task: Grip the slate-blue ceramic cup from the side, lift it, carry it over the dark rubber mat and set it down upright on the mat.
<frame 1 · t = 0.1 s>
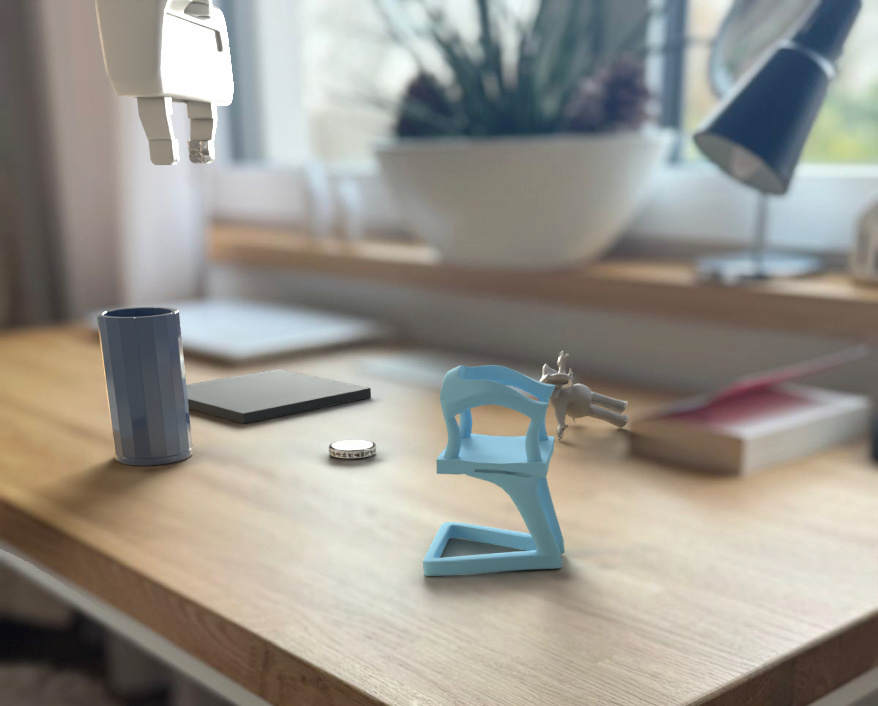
hand: (185, 164, 87), 23 cm above the table, tool pointing down, fingers open, 8 cm apart
chair: (497, 560, 68), on the table
grey figurine: (575, 430, 100), on the table
mat: (263, 398, 113), on the table
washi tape: (352, 454, 92), on the table
cup: (154, 455, 92), on the table
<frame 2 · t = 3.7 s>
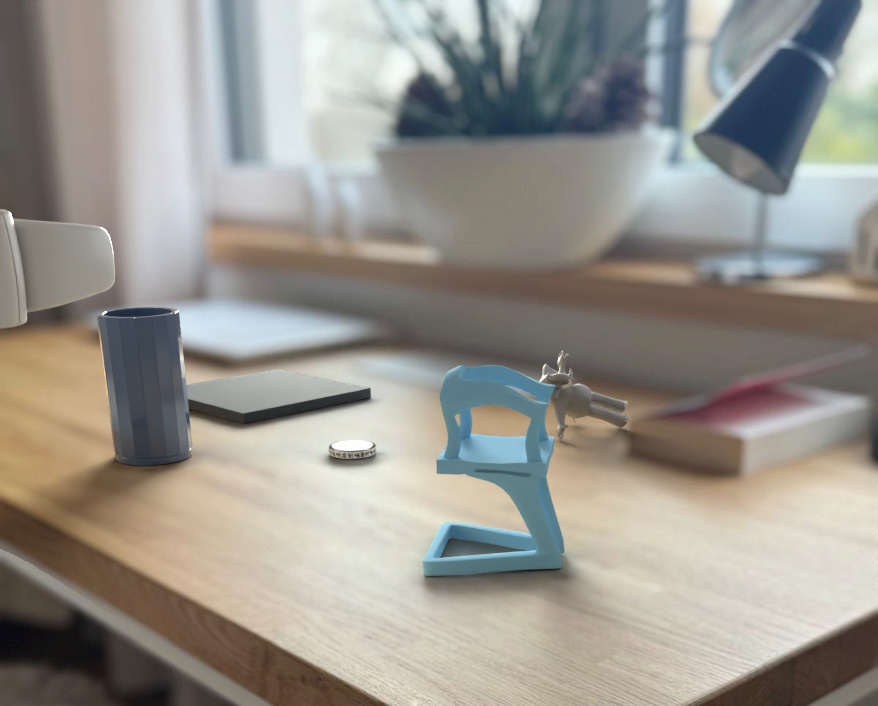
hand: (32, 248, 75), 18 cm above the table, tool horizontal, fingers open, 8 cm apart
nothing on the table moved.
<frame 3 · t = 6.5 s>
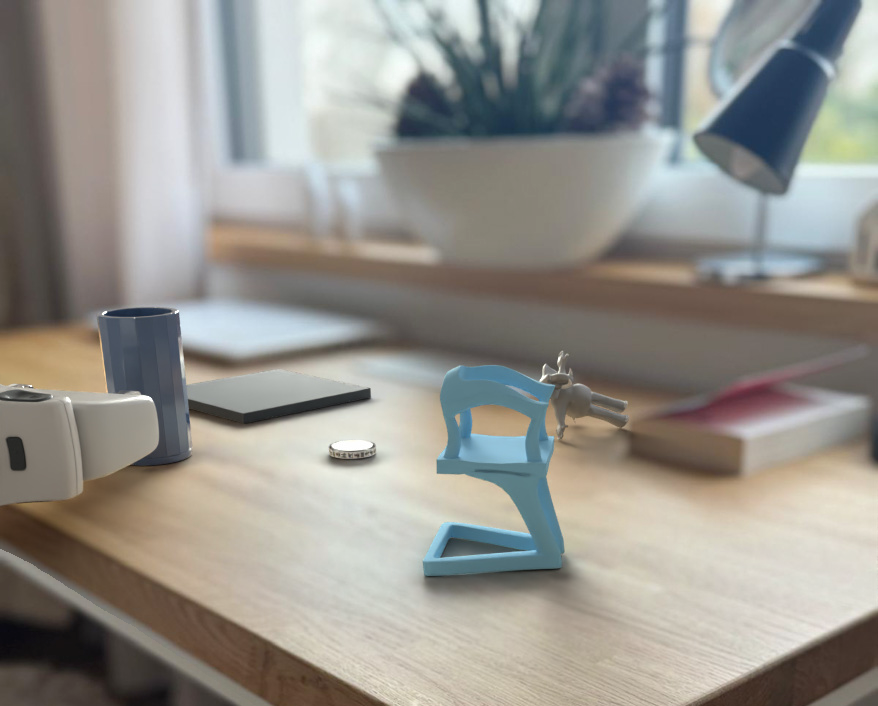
hand: (79, 398, 82), 7 cm above the table, tool horizontal, fingers open, 8 cm apart
nothing on the table moved.
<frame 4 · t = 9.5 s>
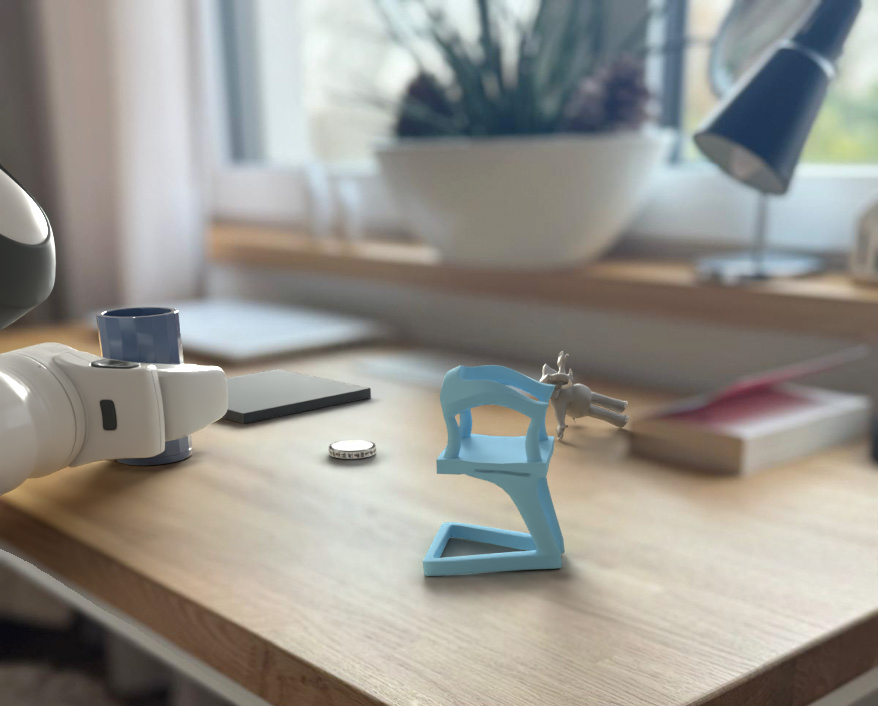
hand: (150, 371, 90), 7 cm above the table, tool horizontal, fingers closed on cup, 6 cm apart
cup: (154, 455, 92), on the table, touching gripper
everything else where it was.
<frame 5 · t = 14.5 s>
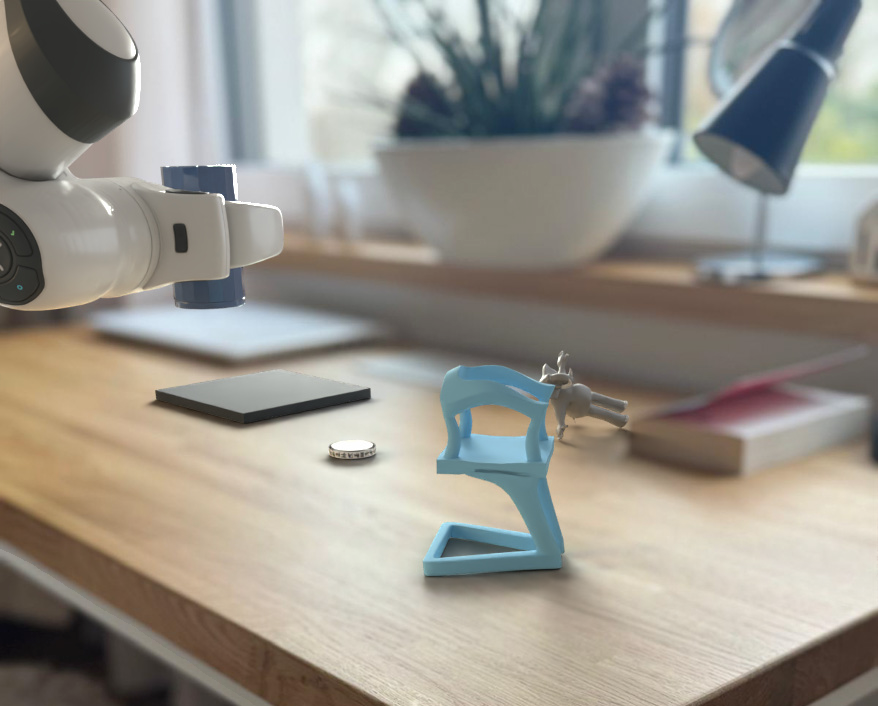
hand: (208, 224, 98), 18 cm above the table, tool horizontal, fingers closed on cup, 6 cm apart
cup: (210, 304, 100), point 11 cm above the table, touching gripper
everything else where it was.
when the fingers open (8 cm above the table, at t = 19.4 s): cup stays where it is, resting on mat.
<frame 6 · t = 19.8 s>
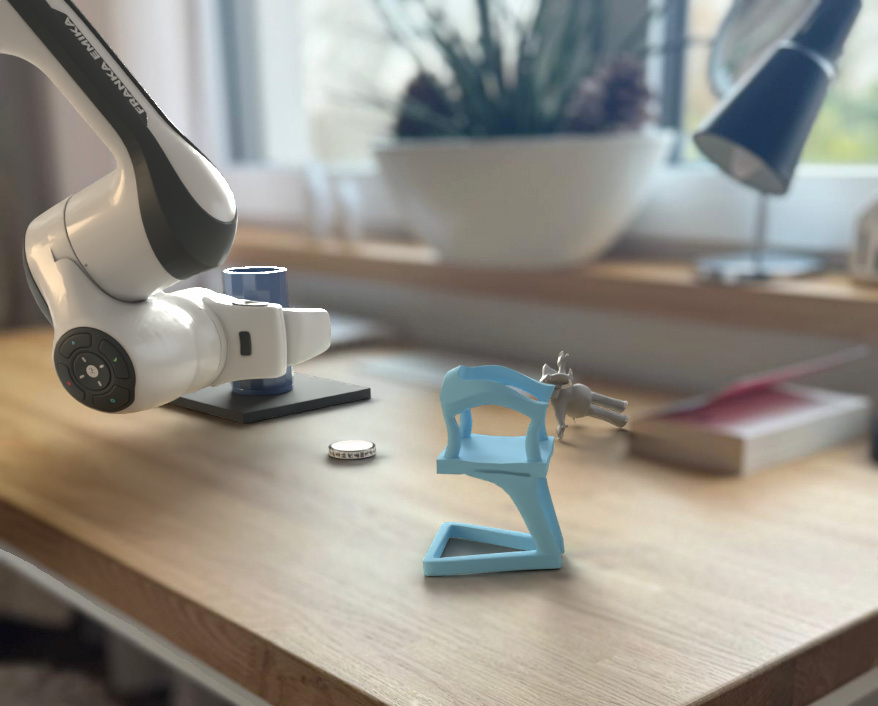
hand: (261, 317, 111), 8 cm above the table, tool horizontal, fingers open, 8 cm apart
cup: (262, 389, 113), point 1 cm above the table, touching mat
everything else where it was.
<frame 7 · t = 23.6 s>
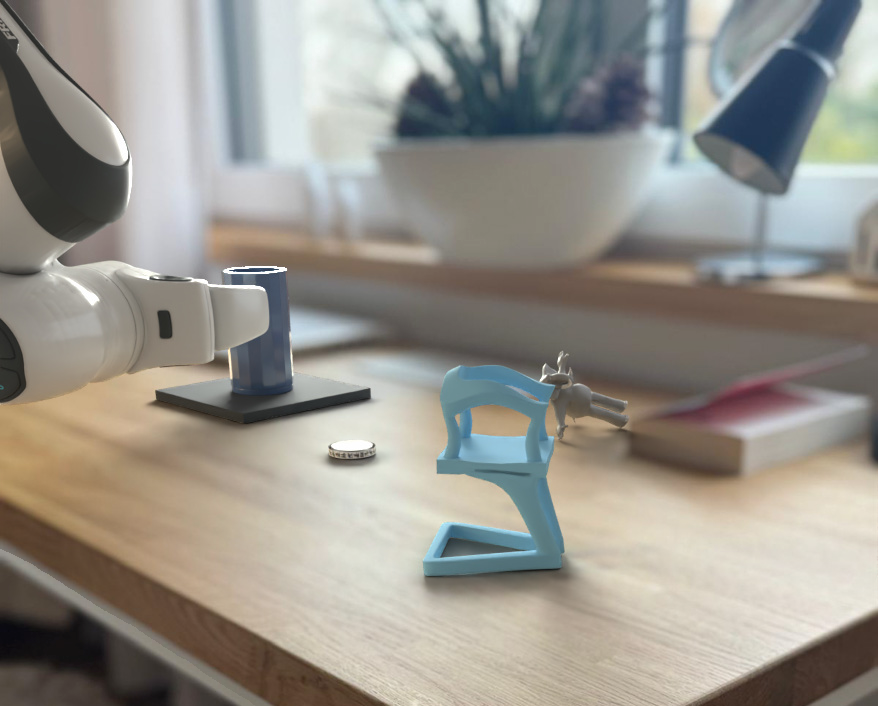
hand: (194, 297, 98), 12 cm above the table, tool horizontal, fingers open, 8 cm apart
nothing on the table moved.
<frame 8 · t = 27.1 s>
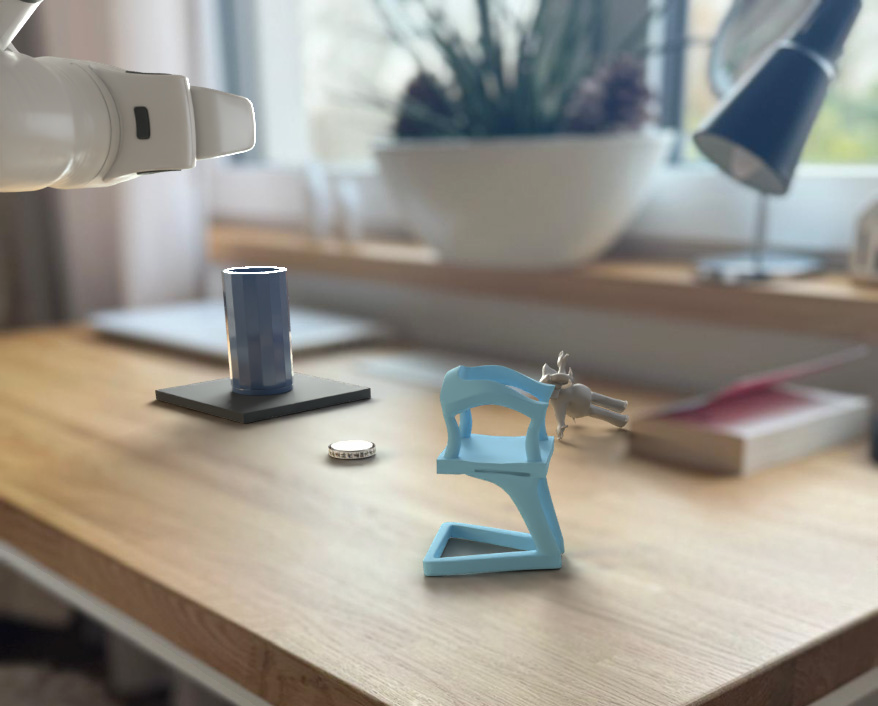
hand: (178, 127, 93), 26 cm above the table, tool horizontal, fingers open, 8 cm apart
nothing on the table moved.
at the end: cup inside the target area on the mat (0.1 cm from its centre), point 1.0 cm above the mat's base; cup tilted 0°; the gripper is holding nothing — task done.
